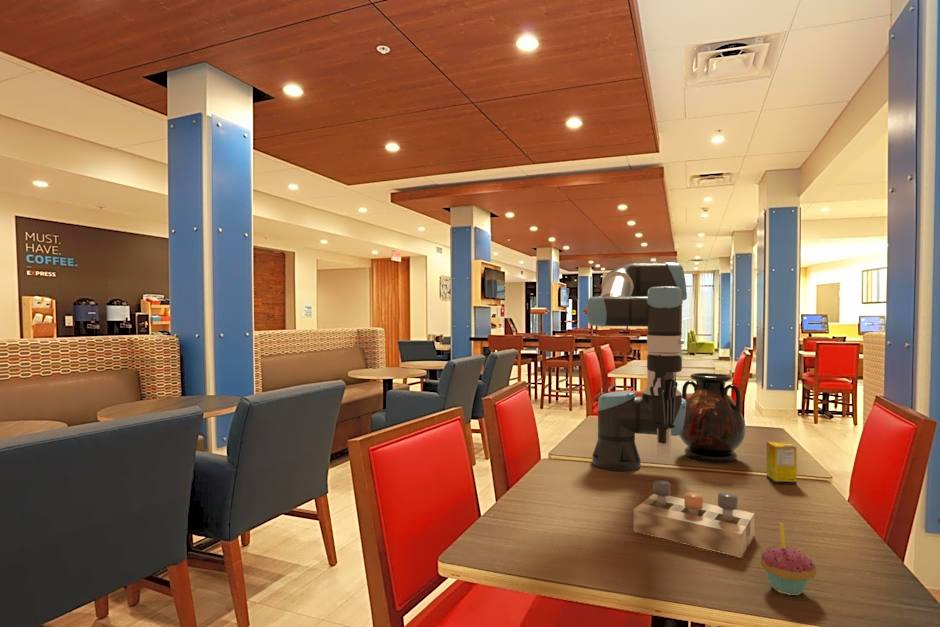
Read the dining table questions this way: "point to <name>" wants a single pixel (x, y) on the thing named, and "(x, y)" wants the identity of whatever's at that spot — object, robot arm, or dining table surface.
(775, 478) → the supplement box
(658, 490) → the charcoal plug left
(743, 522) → the panel
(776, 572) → the cupcake
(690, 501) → the terracotta plug
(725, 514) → the charcoal plug right
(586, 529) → the dining table surface
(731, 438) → the amphora vase
